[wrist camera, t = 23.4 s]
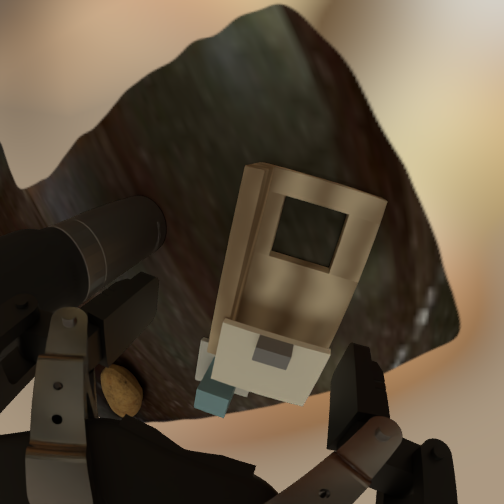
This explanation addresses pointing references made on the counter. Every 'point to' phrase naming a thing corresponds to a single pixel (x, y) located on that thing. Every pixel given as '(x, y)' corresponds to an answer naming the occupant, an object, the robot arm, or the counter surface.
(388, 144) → the counter surface
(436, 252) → the counter surface
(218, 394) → the block
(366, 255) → the puzzle board
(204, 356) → the mat
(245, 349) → the cover
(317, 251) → the counter surface
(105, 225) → the robot arm
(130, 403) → the potato
